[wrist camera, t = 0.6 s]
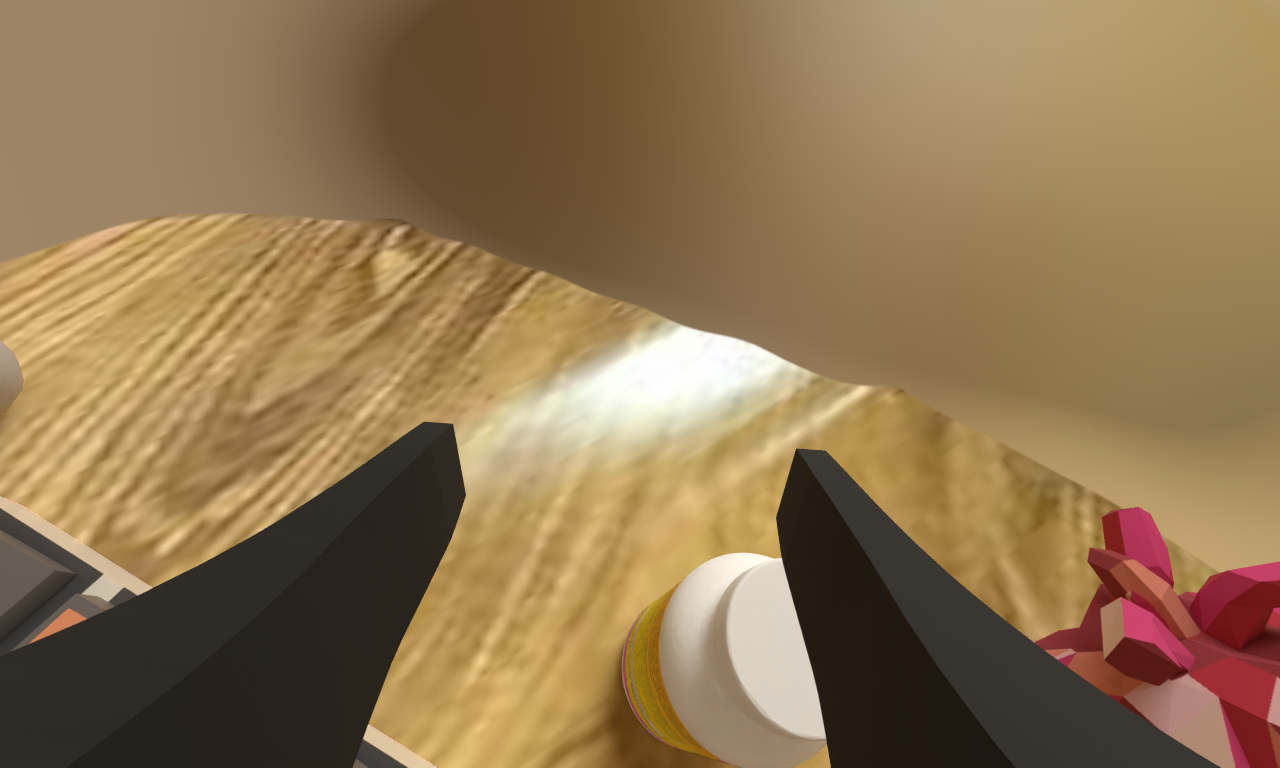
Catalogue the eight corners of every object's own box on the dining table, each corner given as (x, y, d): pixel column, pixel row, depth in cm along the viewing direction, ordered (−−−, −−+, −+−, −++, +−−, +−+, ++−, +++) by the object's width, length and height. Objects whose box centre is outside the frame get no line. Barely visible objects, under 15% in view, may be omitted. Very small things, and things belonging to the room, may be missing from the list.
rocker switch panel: (357, 1009, 17) (314, 1084, 14) (-164, 643, 19) (-307, 632, 16) (473, 788, 21) (462, 805, 17) (22, 503, 23) (-63, 470, 20)
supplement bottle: (649, 777, 22) (760, 850, 11) (600, 624, 25) (652, 568, 14) (771, 710, 24) (959, 717, 14) (713, 577, 27) (830, 498, 17)
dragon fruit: (1326, 812, 26) (1156, 459, 27) (1908, 1201, 13) (1546, 515, 15) (1062, 886, 27) (912, 547, 28) (1368, 1300, 15) (1078, 667, 16)
